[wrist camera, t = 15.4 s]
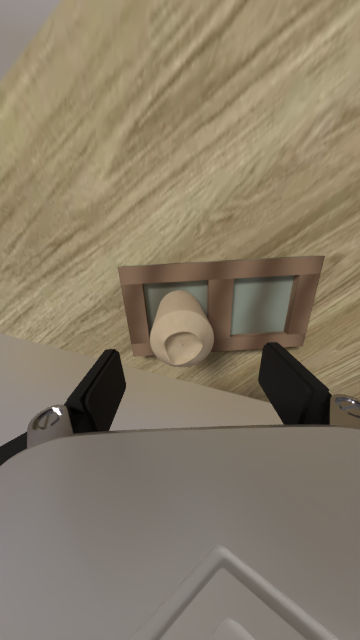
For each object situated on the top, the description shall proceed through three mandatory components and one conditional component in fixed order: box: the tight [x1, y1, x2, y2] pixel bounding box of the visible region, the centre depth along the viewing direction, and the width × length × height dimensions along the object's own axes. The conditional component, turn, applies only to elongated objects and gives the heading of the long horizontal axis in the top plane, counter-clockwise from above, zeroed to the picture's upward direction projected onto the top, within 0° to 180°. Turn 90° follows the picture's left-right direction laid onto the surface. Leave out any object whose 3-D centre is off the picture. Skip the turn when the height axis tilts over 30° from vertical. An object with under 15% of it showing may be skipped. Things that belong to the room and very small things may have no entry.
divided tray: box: [118, 256, 325, 357], centre depth 22 cm, size 24×12×3 cm, turn 93°
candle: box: [150, 290, 214, 367], centre depth 18 cm, size 6×6×10 cm
